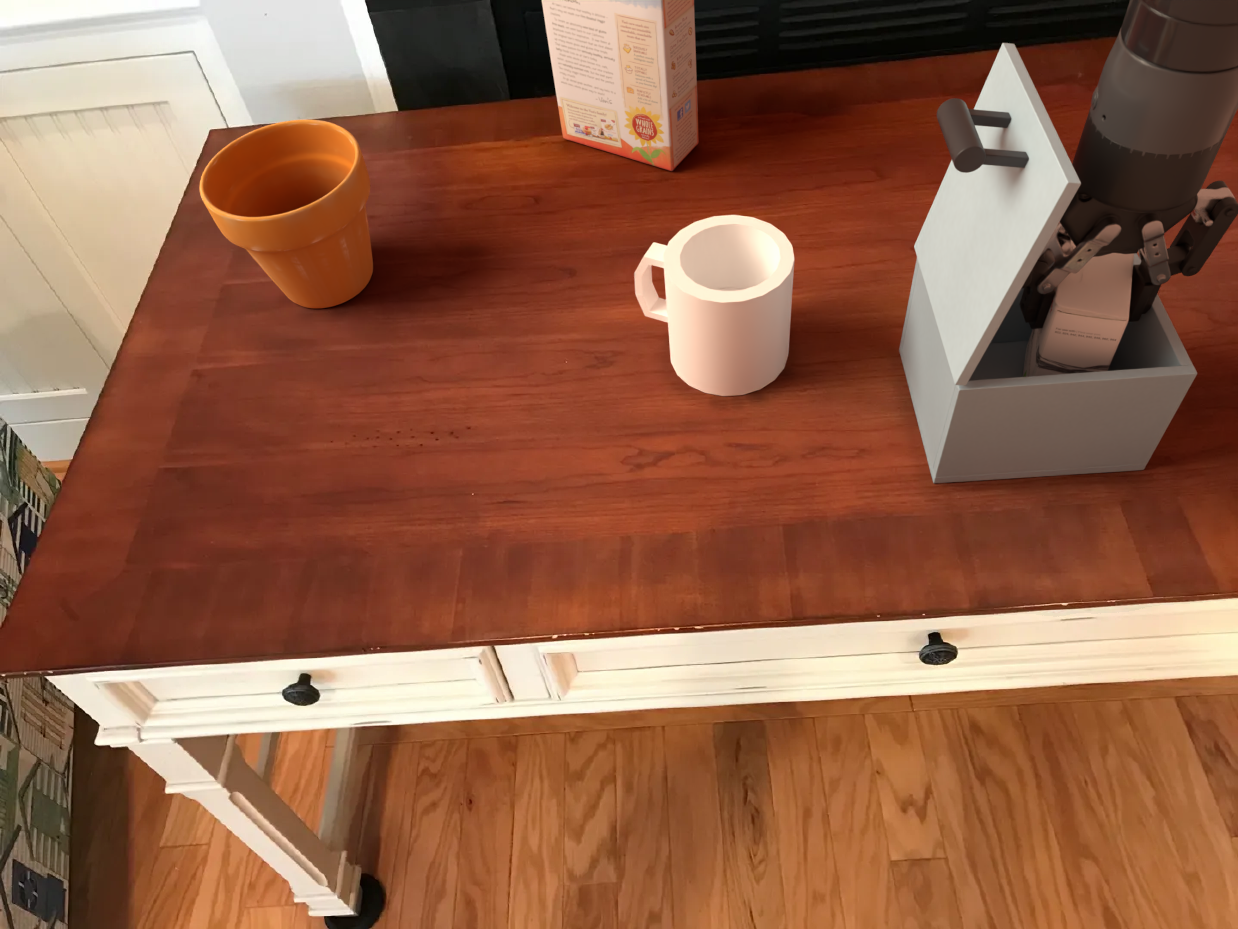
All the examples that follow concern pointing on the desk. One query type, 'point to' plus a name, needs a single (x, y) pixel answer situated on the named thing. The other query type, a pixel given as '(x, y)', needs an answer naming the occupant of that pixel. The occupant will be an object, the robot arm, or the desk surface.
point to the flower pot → (296, 207)
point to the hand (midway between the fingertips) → (1080, 316)
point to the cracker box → (626, 76)
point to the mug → (723, 302)
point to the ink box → (1083, 319)
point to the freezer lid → (991, 208)
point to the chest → (1041, 400)
